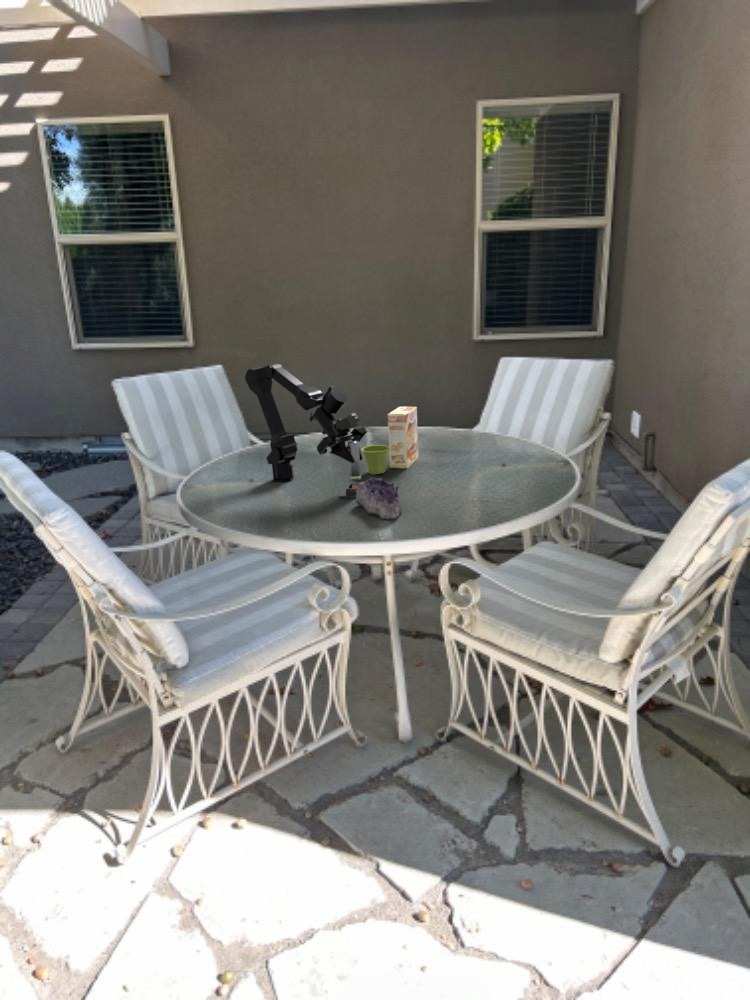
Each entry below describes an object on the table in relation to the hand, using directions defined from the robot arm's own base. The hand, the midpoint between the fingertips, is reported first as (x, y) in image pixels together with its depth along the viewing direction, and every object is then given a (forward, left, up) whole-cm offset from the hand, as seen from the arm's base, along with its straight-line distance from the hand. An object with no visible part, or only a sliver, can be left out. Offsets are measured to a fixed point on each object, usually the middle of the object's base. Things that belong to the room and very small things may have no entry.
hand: (357, 460), depth 216 cm
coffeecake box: (+12, +37, -11) cm, 40 cm away
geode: (+9, -16, -11) cm, 21 cm away
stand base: (-1, +1, -11) cm, 11 cm away
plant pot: (+3, +25, -11) cm, 27 cm away
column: (-1, +1, -7) cm, 7 cm away
